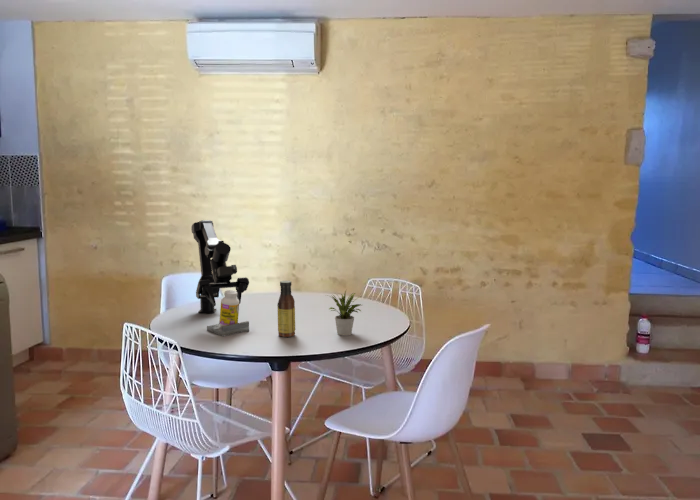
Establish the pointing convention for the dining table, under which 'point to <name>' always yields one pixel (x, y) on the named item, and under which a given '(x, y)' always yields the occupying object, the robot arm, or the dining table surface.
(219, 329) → the coupler plate
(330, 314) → the dining table surface
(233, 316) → the supplement bottle
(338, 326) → the house plant
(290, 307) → the sauce bottle
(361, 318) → the dining table surface
